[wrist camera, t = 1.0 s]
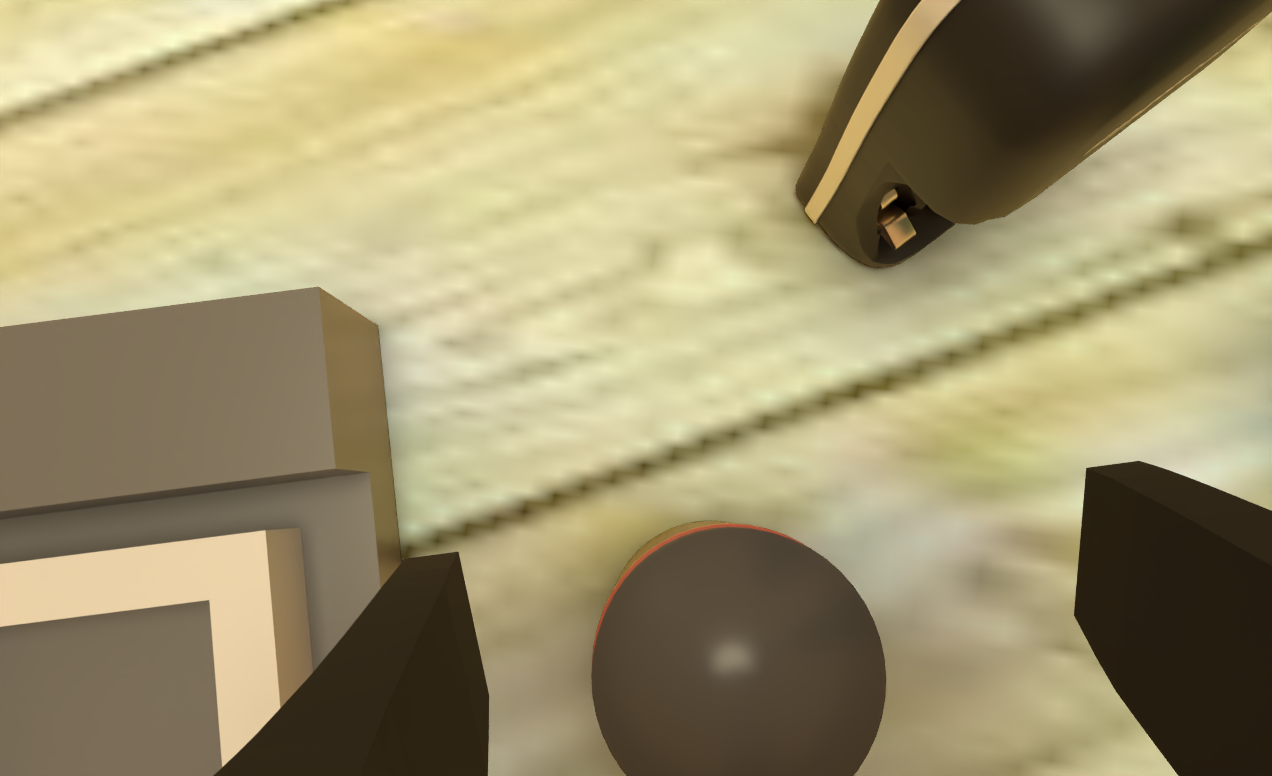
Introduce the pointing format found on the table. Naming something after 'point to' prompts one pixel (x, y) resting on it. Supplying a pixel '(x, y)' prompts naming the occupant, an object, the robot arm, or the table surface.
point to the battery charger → (992, 106)
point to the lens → (736, 659)
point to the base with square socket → (182, 525)
